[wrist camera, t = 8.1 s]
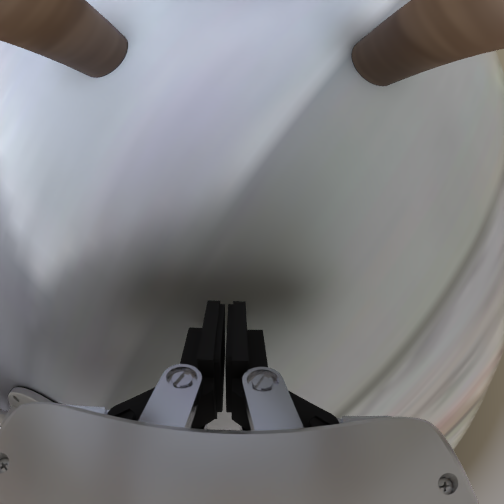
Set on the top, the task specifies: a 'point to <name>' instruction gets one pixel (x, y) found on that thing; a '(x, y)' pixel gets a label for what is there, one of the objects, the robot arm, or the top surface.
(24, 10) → the post
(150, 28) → the top surface
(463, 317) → the top surface
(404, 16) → the post
